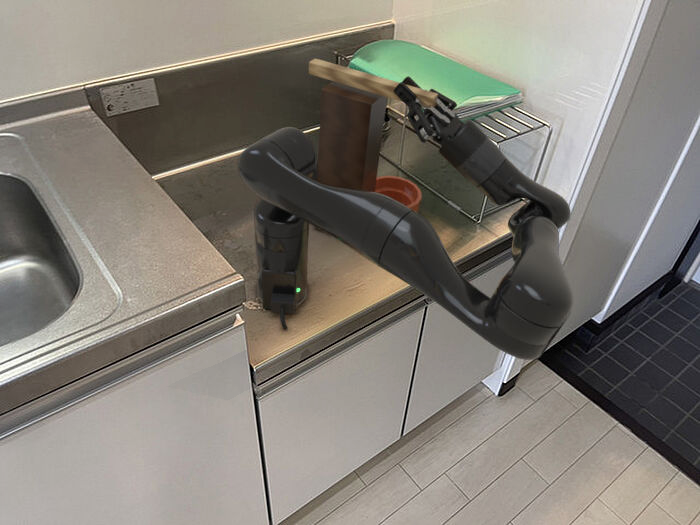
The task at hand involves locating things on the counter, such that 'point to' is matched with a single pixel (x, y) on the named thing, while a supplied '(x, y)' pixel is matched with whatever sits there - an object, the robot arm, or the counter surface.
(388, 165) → the counter surface
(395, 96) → the stick
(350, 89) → the stand
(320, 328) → the counter surface
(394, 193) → the bowl
